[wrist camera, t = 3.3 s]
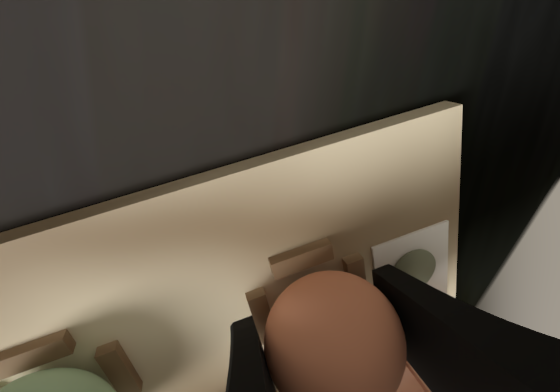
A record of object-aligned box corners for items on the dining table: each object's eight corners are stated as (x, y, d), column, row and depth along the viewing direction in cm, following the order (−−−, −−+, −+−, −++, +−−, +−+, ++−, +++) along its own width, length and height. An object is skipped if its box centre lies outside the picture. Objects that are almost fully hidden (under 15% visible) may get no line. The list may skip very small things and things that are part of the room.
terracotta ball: (366, 317, 13) (439, 420, 9) (265, 357, 12) (304, 484, 9) (355, 229, 11) (441, 314, 8) (236, 270, 10) (269, 385, 7)
